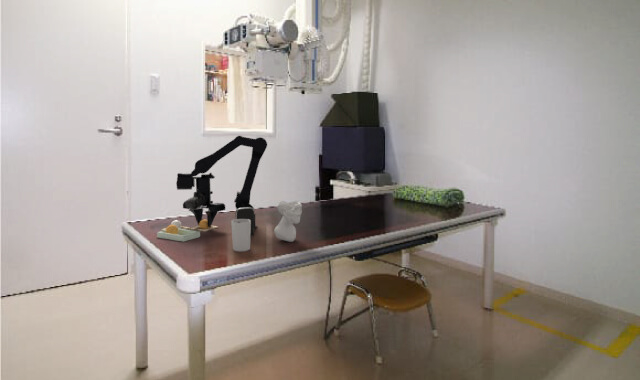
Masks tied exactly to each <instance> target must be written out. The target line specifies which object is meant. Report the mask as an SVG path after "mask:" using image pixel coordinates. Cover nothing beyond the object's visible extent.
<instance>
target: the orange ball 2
mask: <svg viewBox="0 0 640 380" xmlns="http://www.w3.org/2000/svg"><path fill="white" fill-rule="evenodd" d="M198 226H199V227H200V228H199V229H204V230H205V229H209V228H210V227H208V221H207V219H205V218H204V219H203V218H202V220H201V221H200V222H199V225H198Z"/></svg>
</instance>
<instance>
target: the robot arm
mask: <svg viewBox="0 0 640 380" xmlns="http://www.w3.org/2000/svg"><path fill="white" fill-rule="evenodd" d="M240 146H245V147H248V148H252V149H251V158H250V161H249V165H248V168H247V172H246V174H245V179H244V181H243V182H244V183H243V185H242V188H241V190H240V191H238V190H237V191H236V195H235V196H236V197H235V198H234V202H233V203H234V205H235V209H238V208H243V207H250V208H252V209H253V210H254V211H255V209H254V208H255V206H253V205H252V204H251V203H250V201H251V191H252V188H253V185H254V181H255V178H256V174H257V172H258V171H257V170H258V167H259V164H260V161H261V159H262V158H263V155H264V154H265V151H266V149H267V147H268V142H267V140H266V139H265V138H263V137H256V138H251V137H246V136H242V135H237V136H236V137H234V139H231V141H230V142H228V143H226V144H225V145H224V146H222V147H220V148H219V149H217V150H216V151H214V152H213V153H211V154H208V156H205V157H203V158H201V159H199V160H197V161H196V162H195V164H194V169H193V170H192V171H191V173H182V172H178V173H177V175H176V176H177V177H176V190H179V191H184V190H185V191H187V190H193V188H195V189H196V190H195V191H194V192H193V196H192V197H190V198H188V199H186V200H185V201H184V202H183V203H182V209H187V210H188V211H189V212H191V213H192V214H193V217H194V218H195V220H196V223H197V225H198V226H199V222H200V221H201V220H203V213H205V214H206V218H207V219H206V220H207V221H208V227H209V228H212V227H211V226H212V224H213V222H214V220H215V217H216V216H217V214H218V212H223V211H225V210H226V204H225V203H223V202H214V201H213V200H211V199H212V196H211V195H212V194H213V190H211V180H213V179H215V178H216V176H215V175H214V174H213V173H212V172H209V173H208V174H206V173H207V172H208V171H209V170H210V169H211V168H212V167H214V166H215V164H217V163H218V162H219V161H220V160H222V159H223V158H224V157H226V156H227V155H228V154H230V153H231V152H233V151H235V150H236V149H237V148H238V147H240ZM199 174H201V175H200V176H198V175H199ZM204 209H208V210H206V211H204ZM258 227H259V226H258V225H256V213H254V229H257V228H258Z"/></svg>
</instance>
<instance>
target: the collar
mask: <svg viewBox="0 0 640 380" xmlns="http://www.w3.org/2000/svg"><path fill="white" fill-rule="evenodd" d="M216 229H219V226H218V225H217V226H216V225H211V227H209V228H208V229H201V228H200V227H199V225H198V226H197V225H196V226H194V227H190V229H189V230H193V231H200V232H208V231H212V230H216Z"/></svg>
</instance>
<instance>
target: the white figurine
mask: <svg viewBox="0 0 640 380" xmlns="http://www.w3.org/2000/svg"><path fill="white" fill-rule="evenodd" d="M302 207H303V204H302V202H299V201H298V200H293V201H290V202H286V201H285V200H282V201H280V202H279V203H278V205H277V211H278V213H279V214H281V215H282V217H281V219H280V221H279V222H278V224H277V225H276V227H275V228H274V230H273V232H274V235H275V237H276V238H277V239H279V240H281V241H285V242H288V243H293V242H294V241H295V240H296V236H297V229H296V227H295V226H294V224H295V225H297V224H299V223H300V221H301V216H302V213H303V210H302Z"/></svg>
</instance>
